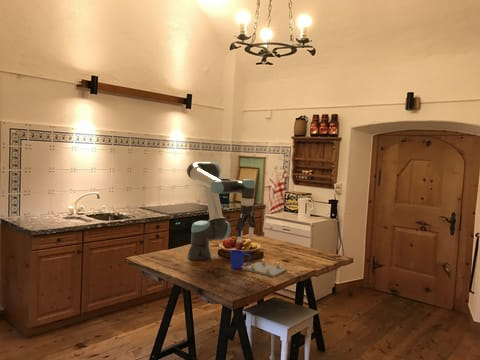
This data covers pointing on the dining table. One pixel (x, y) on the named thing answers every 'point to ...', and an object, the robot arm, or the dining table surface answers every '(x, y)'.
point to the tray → (265, 269)
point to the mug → (237, 259)
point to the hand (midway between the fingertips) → (245, 239)
